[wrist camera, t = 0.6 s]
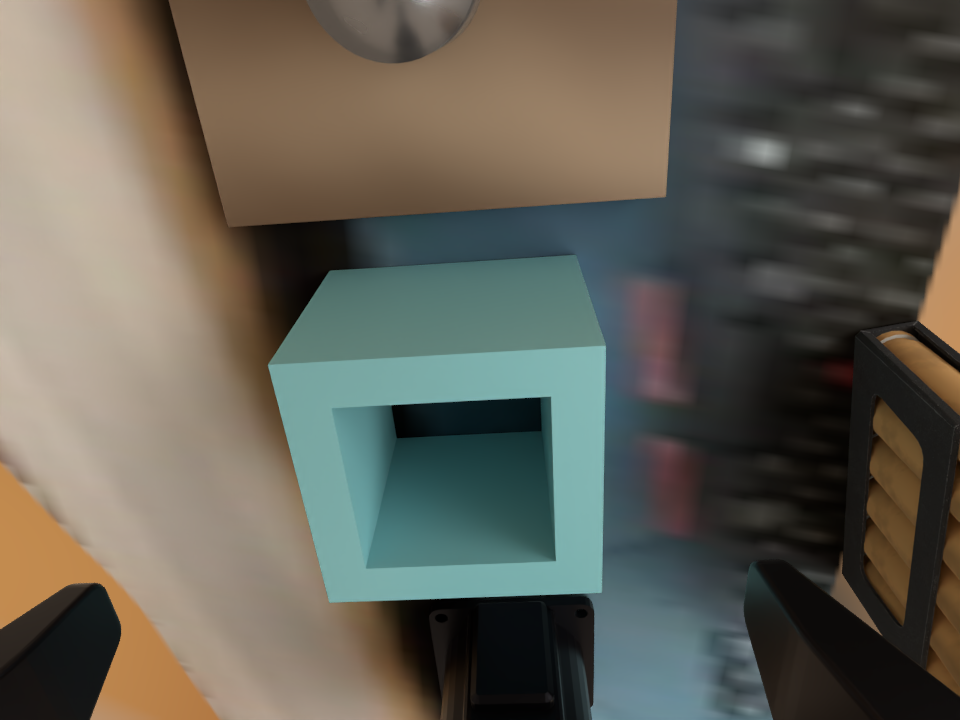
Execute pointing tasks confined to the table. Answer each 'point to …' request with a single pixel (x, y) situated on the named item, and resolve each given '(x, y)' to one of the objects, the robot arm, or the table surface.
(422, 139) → the post base
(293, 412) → the collar
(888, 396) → the ammunition clip
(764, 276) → the table surface
